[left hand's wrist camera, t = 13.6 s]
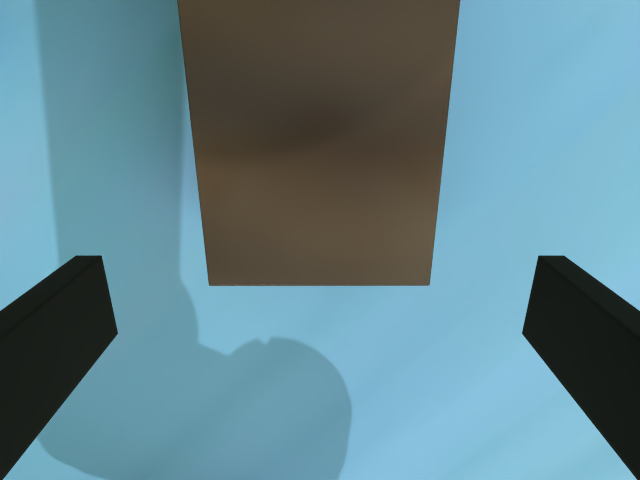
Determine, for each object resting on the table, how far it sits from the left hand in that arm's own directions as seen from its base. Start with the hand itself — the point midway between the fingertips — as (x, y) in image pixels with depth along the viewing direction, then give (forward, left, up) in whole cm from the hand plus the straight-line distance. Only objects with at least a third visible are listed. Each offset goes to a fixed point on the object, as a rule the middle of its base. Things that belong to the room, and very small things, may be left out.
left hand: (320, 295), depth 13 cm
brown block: (+3, -4, -16) cm, 16 cm away
